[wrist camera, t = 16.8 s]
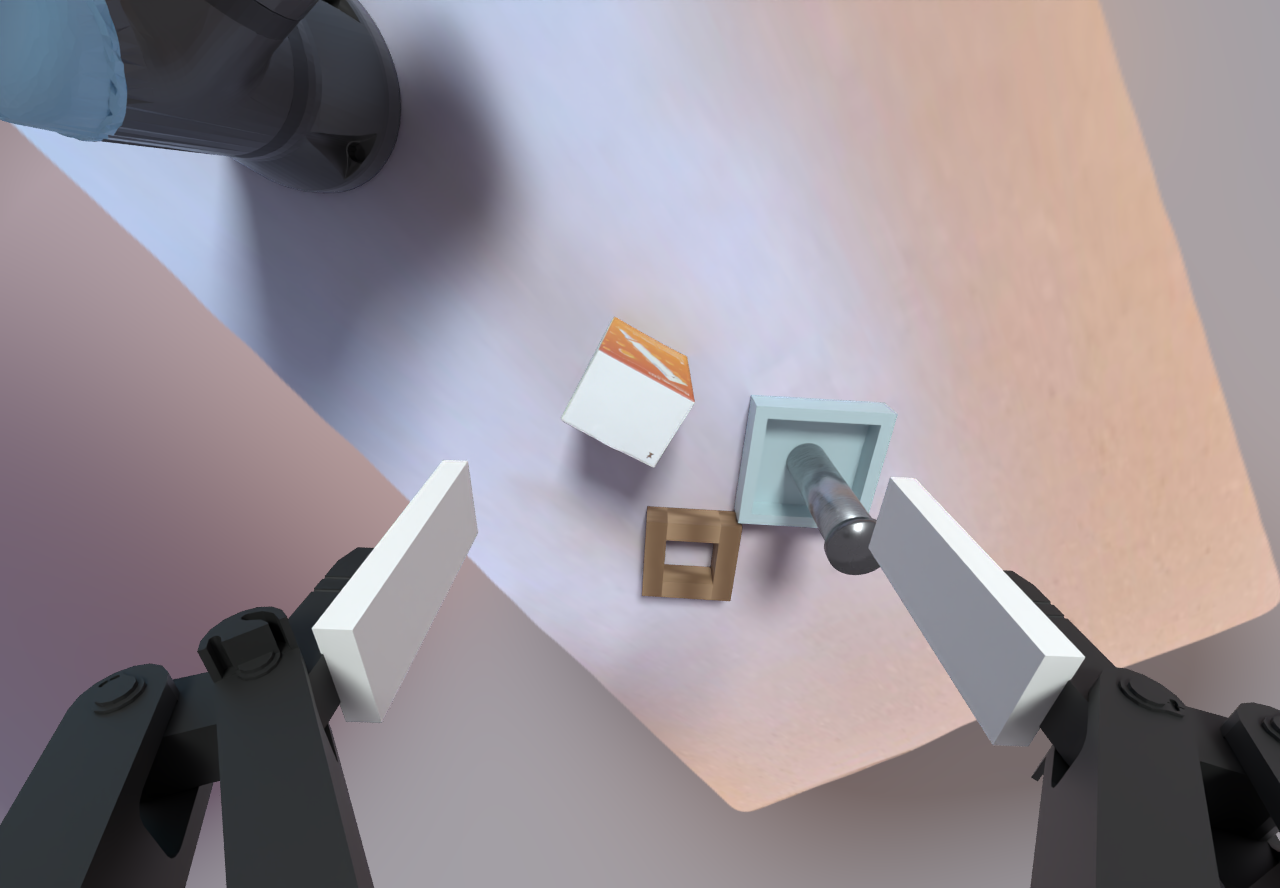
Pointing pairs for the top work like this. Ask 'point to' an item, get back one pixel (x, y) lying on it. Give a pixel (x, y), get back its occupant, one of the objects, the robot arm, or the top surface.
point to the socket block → (691, 529)
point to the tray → (784, 423)
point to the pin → (834, 510)
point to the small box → (632, 394)
